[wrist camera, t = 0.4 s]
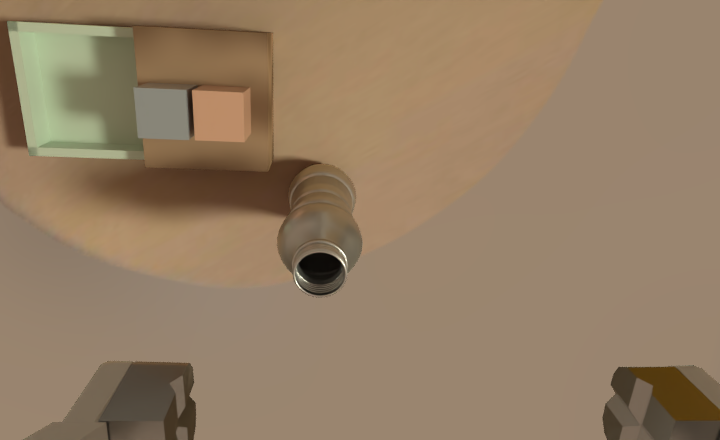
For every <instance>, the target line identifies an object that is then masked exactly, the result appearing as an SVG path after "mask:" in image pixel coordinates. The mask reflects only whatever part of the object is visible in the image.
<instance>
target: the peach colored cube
mask: <svg viewBox="0 0 720 440" xmlns="http://www.w3.org/2000/svg"><path fill="white" fill-rule="evenodd" d="M192 98H193V116H194V134H195V140H197V141H223V142H245V141H246V140H247V138H248V137H249V135H250V134H251V102H250V87H233V86H212V85H202V86H200V87H198V88H196V89H194V90H192Z"/></svg>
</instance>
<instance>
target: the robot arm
mask: <svg viewBox="0 0 720 440" xmlns="http://www.w3.org/2000/svg"><path fill="white" fill-rule="evenodd" d="M193 384H194V376H193V367H192V366H191V364H190V363H171V362H132V361H107V362H105V363H103V364H101V365H100V367H99V368H98V370H97V371H96V373H95V374H94V376H93V377H92V379H91V380H90V382H89V383H88V385H87V386H86V388H85V389H84V391H83V392H82V393H81V395H80V397H79V398H78V399H77V401H76V402H75V404H74V406H73V407H72V408H71V410H70V412H69V413H68V414H67V416H66V417H65V419H64V420H63V422H53V423H51V424H49V425H48V426H46V427H44V428H42V429H41V430H39V431H37V432H35V433H34V434H32V435H30V436H28V437H27V438H25V439H23V440H193V439H194V434H195V427H196V403H195V402H194V400H192V398H191V397H190V396H189V395H190V392H191V390H192V387H193ZM611 386H612V388H613V390H614V392H615V393H616V394H615V395H614V396H613V397H612V398H611V399H610V400H609V401H608V402H607V403H606V404H605V409H604V414H603V425H604V433H605V435H606V438H607V440H720V384H719V383H718V382H717V381H715V380H714V379H713V378H712V377H711V376H710V375H709V374H708V373H707V372H705V371H704V370H703V369H702V368H699V367H696V366H694V365H688V366H668V367H618V369H617V370H616V371H615V373H614V374H613V378H612V381H611Z"/></svg>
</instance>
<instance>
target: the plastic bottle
mask: <svg viewBox="0 0 720 440" xmlns="http://www.w3.org/2000/svg"><path fill="white" fill-rule="evenodd" d="M288 199H289V205H290V209H291V211H290V213H289V215H288V216H287V217H286V219H285V220H284V222H283V224H282V225H281V228H280V230H279V233H278V237H277V248H278V253H279V255H280V257H281V260H282V261H283V263H284V265H285V266H286V267H287V269H288V270H289V271H290V272H291V273H292V274H293V279H294V281H295V284H296V285H297V287H298V288H299V289H300V290H301V291H302V292H304V293H305V294H307V295H310V296H313V297H327V296H331V295H333V294H335V293H337V292H338V291H339V290H340V289H341V288H342V287H343V285H344V284H345V282H346V279H347V273H349V272H350V270H351V269H352V268H353V267H354V266H355V264H356V262H357V261H358V259H359V257H360V254H361V251H362V236H361V233H360V230H359V227H358V224H357V223H356V221H355V219H354V218H353V216H352V212H353V210H354V206H355V203H356V191H355V187H354V185H353V183H352V181H351V179H350V178H349V177H348V176H347V175H346V174H345V173H344V172H343V171H342V170H340V169H339V168H337V167H335V166H332V165H328V164H315V165H312V166H309V167H307V168H305V169H303V170H302V171H301V172H300V173H299V174H297V175H296V177H295V178H294V179H293V180H292V182H291V184H290V187H289V191H288Z"/></svg>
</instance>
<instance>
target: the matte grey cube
mask: <svg viewBox="0 0 720 440" xmlns="http://www.w3.org/2000/svg"><path fill="white" fill-rule="evenodd" d="M196 88H197V85H191V84H169V83H146V84H143V85H140V86H137V87H133V89H134V100H135V110H136V121H137V132H138V138H146V139H172V140H189V139H191V138H192V137H193V136H194V135H195V134H194V116H193V98H192V90H194V89H196Z"/></svg>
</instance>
